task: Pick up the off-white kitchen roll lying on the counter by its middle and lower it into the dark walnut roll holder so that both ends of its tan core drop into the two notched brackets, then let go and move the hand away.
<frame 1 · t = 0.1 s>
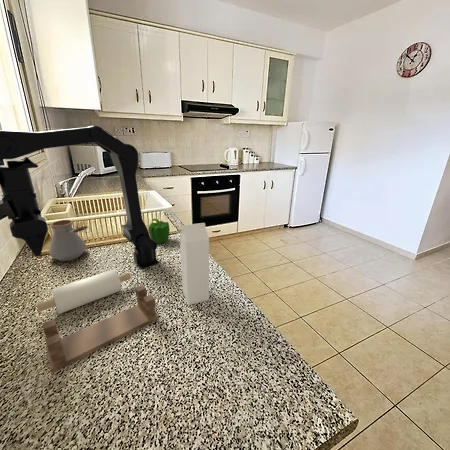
hand: (36, 248, 61), 15 cm above the countertop, tool pointing down, fingers open, 9 cm apart
bell pepper: (160, 241, 100), on the countertop
coffee pot: (77, 260, 84), on the countertop
roll holder: (107, 332, 55), on the countertop
milk: (195, 296, 67), on the countertop
kitchen roll: (88, 290, 64), point 3 cm above the countertop
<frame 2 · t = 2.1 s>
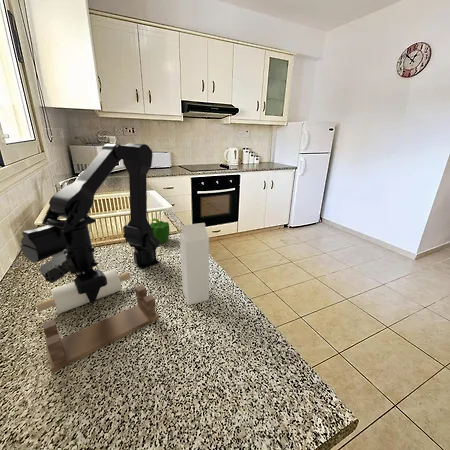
hand: (89, 295, 64), 1 cm above the countertop, tool pointing down, fingers closed on kitchen roll, 6 cm apart
kitchen roll: (88, 289, 64), point 3 cm above the countertop, touching gripper
everything else where it was.
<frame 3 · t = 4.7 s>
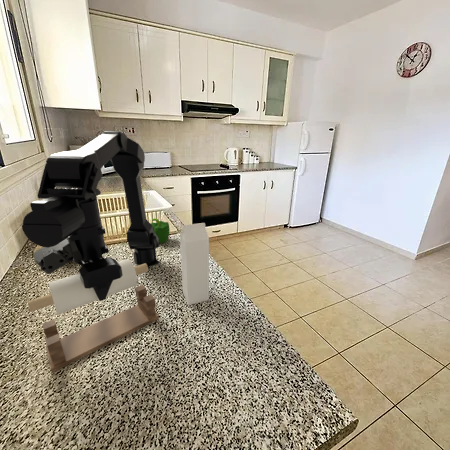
hand: (97, 292, 51), 11 cm above the countertop, tool pointing down, fingers closed on kitchen roll, 6 cm apart
kitchen roll: (95, 284, 50), point 13 cm above the countertop, touching gripper
everything else where it was.
when the fingers open (4 cm above the countertop, at t = 7.2 s): kitchen roll drops 1 cm and tips over, resting on roll holder.
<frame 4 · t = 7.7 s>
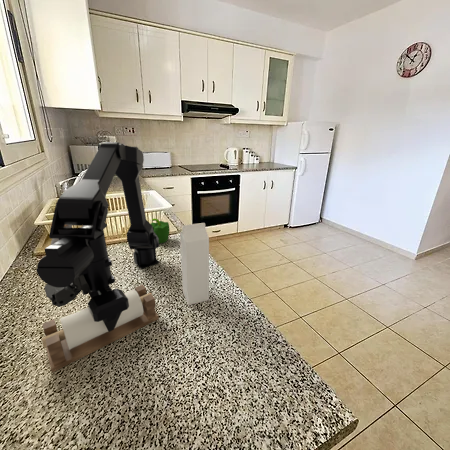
hand: (104, 317, 53), 4 cm above the countertop, tool pointing down, fingers open, 9 cm apart
kitchen roll: (104, 316, 52), point 5 cm above the countertop, tilted 30°, touching roll holder
everything else where it was.
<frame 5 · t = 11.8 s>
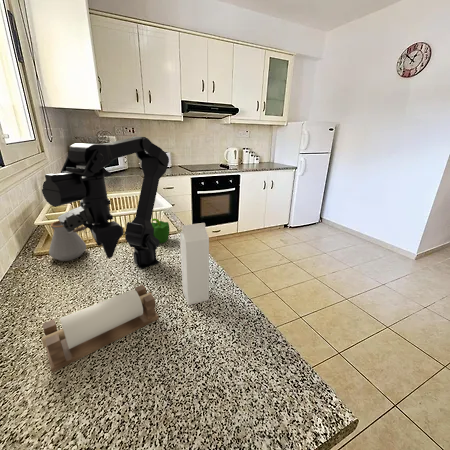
hand: (104, 251, 66), 12 cm above the countertop, tool pointing down, fingers open, 9 cm apart
kitchen roll: (104, 316, 52), point 5 cm above the countertop, tilted 20°, touching roll holder
everything else where it was.
at the end: kitchen roll 0.3 cm off-centre on the roll holder, point 5.0 cm above the roll holder's base; kitchen roll touching roll holder; the gripper is holding nothing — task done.
